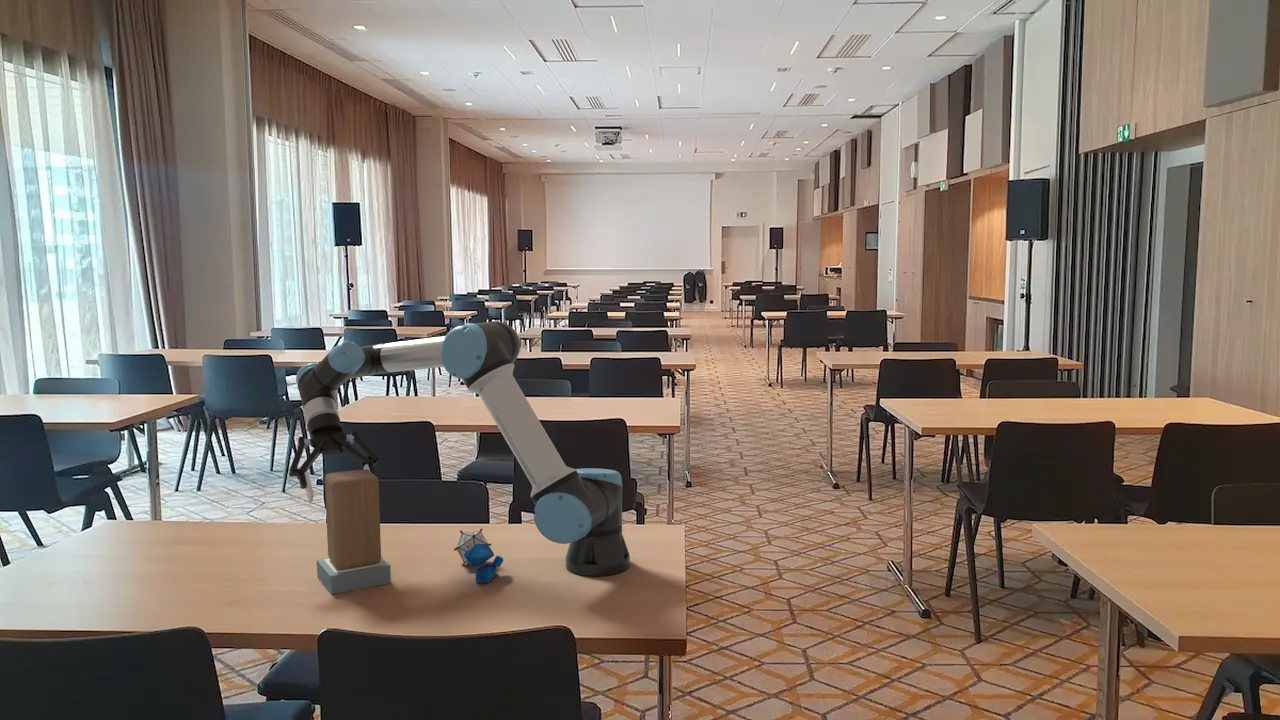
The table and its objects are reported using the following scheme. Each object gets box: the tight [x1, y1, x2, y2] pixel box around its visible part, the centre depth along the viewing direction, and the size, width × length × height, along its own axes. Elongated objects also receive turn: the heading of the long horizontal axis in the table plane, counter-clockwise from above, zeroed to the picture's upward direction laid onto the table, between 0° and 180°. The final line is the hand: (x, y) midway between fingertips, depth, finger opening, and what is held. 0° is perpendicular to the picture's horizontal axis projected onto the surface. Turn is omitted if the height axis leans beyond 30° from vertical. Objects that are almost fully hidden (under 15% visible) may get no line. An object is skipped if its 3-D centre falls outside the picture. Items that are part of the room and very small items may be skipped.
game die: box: [453, 527, 492, 567], centre depth 215 cm, size 9×8×10 cm
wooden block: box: [324, 468, 382, 569], centre depth 203 cm, size 10×10×20 cm
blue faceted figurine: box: [464, 543, 504, 584], centre depth 203 cm, size 7×9×12 cm
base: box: [316, 556, 392, 595], centre depth 204 cm, size 13×13×4 cm
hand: (342, 495), depth 207 cm, fingers open, 13 cm apart
